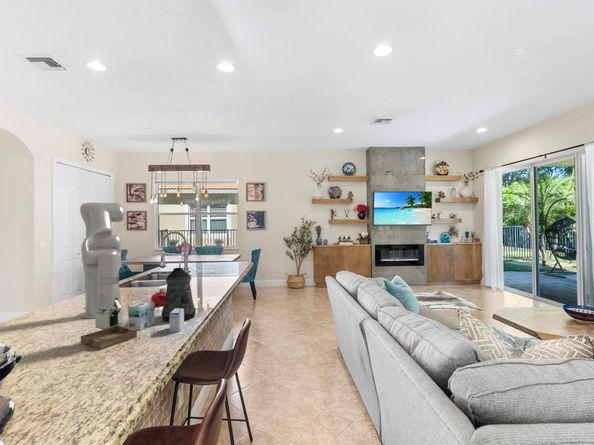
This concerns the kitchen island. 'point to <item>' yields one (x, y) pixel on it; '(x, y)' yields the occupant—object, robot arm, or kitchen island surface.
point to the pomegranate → (158, 298)
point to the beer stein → (178, 295)
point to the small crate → (106, 319)
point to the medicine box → (176, 320)
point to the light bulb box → (141, 315)
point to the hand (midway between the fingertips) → (109, 323)
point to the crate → (108, 337)
